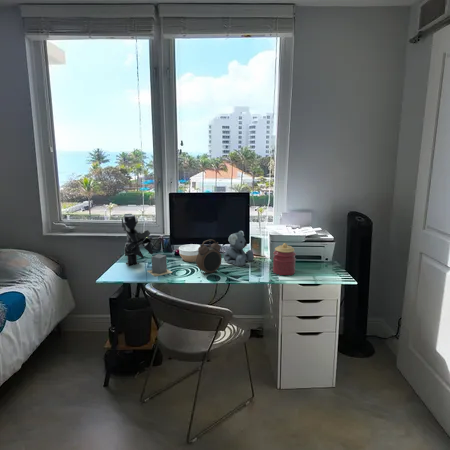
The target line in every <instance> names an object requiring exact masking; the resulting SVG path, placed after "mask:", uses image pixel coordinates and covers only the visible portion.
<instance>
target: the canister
mask: <svg viewBox="0 0 450 450" xmlns="http://www.w3.org/2000/svg"><path fill="white" fill-rule="evenodd" d="M272 254H273V257H272V273H273V274H275V273H276V274H275V275H277V274H279V275H278V276H281V275H290V276H293V275H294V274H295V273H296V261H297V258H296V256H297V253H296V251H295V248H294V247H293V246H291V245H288V244H287V242H284V243H283V244H282V245H281V244H280V245H278V246H276V247H274V251H273V252H272Z"/></svg>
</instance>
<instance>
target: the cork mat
mask: <svg viewBox="0 0 450 450" xmlns="http://www.w3.org/2000/svg"><path fill="white" fill-rule="evenodd" d="M146 271H147V273H149V274H151V275H152V276H153V277H155V278H156V277H160V276H163V275H168V274H172V273H173V271H171V270H169V269H168V268H167V271H166V272H164V273H162V274H157V273H153V272H152V269H149V270H146Z"/></svg>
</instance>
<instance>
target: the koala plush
mask: <svg viewBox="0 0 450 450" xmlns="http://www.w3.org/2000/svg"><path fill="white" fill-rule="evenodd" d="M244 236H245V234H244V231H243V230H239V231H238V232H235V233H232V234H230V235H229V237H228V242H229V247H228V249H227V250H226V251H224V253H223V260H224V261H225V262H226V263H227V264H232V265H234V266H236V267H243V266H244V265H246V262H252V261H254V257H255V256H254V251H253V250H252V249H248V250H247V251H246V252H245V250H244V249H245V248H246V247H247V246H248V243H247V241H246V238H245V237H244Z"/></svg>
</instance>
